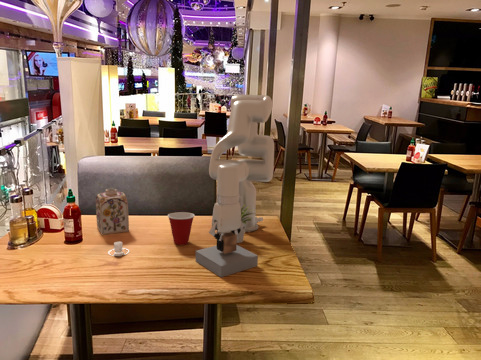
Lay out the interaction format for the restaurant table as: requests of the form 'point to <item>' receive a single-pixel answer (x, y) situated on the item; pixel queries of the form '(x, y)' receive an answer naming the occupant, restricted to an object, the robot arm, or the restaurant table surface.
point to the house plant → (241, 234)
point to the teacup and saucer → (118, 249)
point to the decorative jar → (112, 212)
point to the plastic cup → (181, 226)
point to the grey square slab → (226, 260)
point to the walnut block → (229, 242)
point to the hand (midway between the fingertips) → (226, 248)
